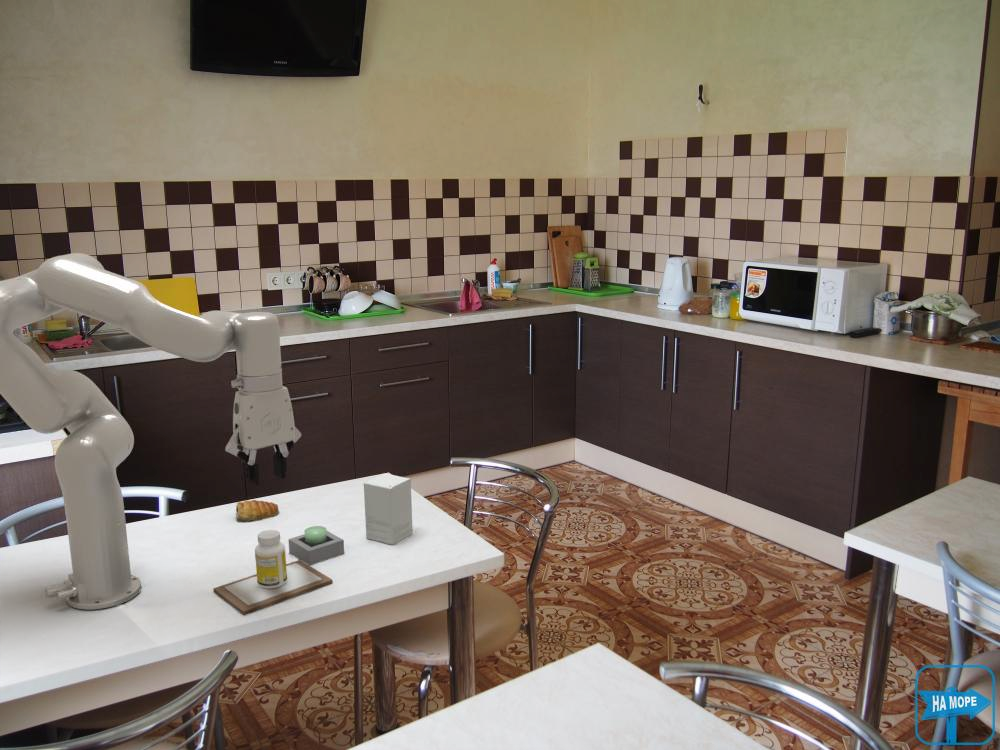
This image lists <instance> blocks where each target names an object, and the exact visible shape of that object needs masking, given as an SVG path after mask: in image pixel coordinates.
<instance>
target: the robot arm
mask: <svg viewBox="0 0 1000 750" xmlns="http://www.w3.org/2000/svg"><path fill="white" fill-rule="evenodd" d="M67 310H68V311H70V312H73V313H76V314H79V315H82V316H85V317H89V318H92V319H93V320H97V321H100V322H102V323H105V324H108V325H111V326H114V327H117V328H119V329H122V330H123V331H125V332H126V333H128V334H129V335H131V336H133V337H135V338H136V339H137V340H138V341H141V342H143V343H144V344H146V345H148V346H149V347H152V348H155V349H158V350H159V351H162V352H165V353H168V354H171V355H174V356H177V357H180V358H182V359H186V360H190V361H192V362H197V363H199V362H200V363H209V362H212V361H215V360H217V359H218V358H220V357H221V356H223V354H226V353H228V352H230V351H235V356H236V369H237V374H236V379H234V380H231V382H230V384H231V388H232V389H237V390H238V391H235V395H234V401H233V402H234V403H233V411H232V412H233V413H232V414H233V415H232V432H233V433H232V435H231V437H230V438H229V440H228V442H227V444H226V446H225V449H224V450H225V452H227V453H229V454H231V455H233V456H235V457H236V458H238V459H239V460H241V462H243V463H244V473H245V475H244V476H245V479H246V481H247V483H248V484H250V485H253V486H255V487H257V486H259V485H260V474H259V473H260V472H259V465H258V464H257V463H256V456H257V452H258V451H257V450H260V449H265V448H269V447H273V448H274V452H275V453H274V454H273V455H272V463H273V464H272V466H273V475H274V476H275V477H278V478H280V479H282V480H285V479H286V477H287V475H286V473H287V470H288V469H287V457H288V456H289V452H290V451H291V449H292V448H293V447H294V445H295V443H296V442H298V440H299V439H300V438H301V437H302V433H301V431H300V430H299V429H298V428H297V427H296V426H295V425H296V424H295V418H294V411H293V405H292V404H293V403H292V402H291V401H292V399H291V397H290V392H289V390H288V387H286V386H284V385H283V368H282V354H281V353H282V352H281V337H280V336H281V335H280V323H279V317H278V316H277V315H276V314H275V313H272V312H268V311H250V312H244V313H243V312H235V311H225V310H209V311H207V312H204V313H202V314H200V315H198V316H196V315H193V314H192V313H188V312H184V311H182V310H179V309H177V308H174V307H171V306H170V305H167V304H165V303H163V302H161V301H159V300H158V299H156V298H155V297H154V296H153V295H152V294H151V293H150V292H149V290H148V288H147V287H146V286H145V284H144V283H142V282H140V281H138V280H135V279H132V278H129V277H126V276H123V275H120V274H118V273H115V272H111V271H109V270H107V269H105V268H104V266H103V265H102V263H101V262H100V261H98V259H96V258H94V256H91V255H88V254H86V253H80V252H79V253H78V252H75V253H73V252H72V253H67V254H63V255H62V254H61V255H57V256H53V257H51V258H49V259H46V260H45V261H43V262H42V263H41V264H40V266H39V267H38V268H37V269H34V270H31V271H29V272H27V273H24V274H21V275H18V276H16V277H13V278H7V279H3V280H0V395H1V396H2V397H3V399H4V400H5V401H6V402H7V403H8V405H9V406H10V407H11V408H12V409H13V410H14V412H15V413H17V414H18V416H19V417H20V418H21V420H22V421H23V422H25V424H26V425H27V426H28V427H29V428H30V429H32V430H34V431H35V432H37V433H39V434H42V435H43V434H45V435H48V434H54V433H57V432H59V431H62V430H63V429H65V428H66V429H67V431H68V432H69V434H68V435H66V437H65V438H64V439H63V440H62V441H61V442H60V444H59V446H58V447H57V450H56V452H55V455H54V469H55V473H56V476H57V480H58V483H59V486H60V489H61V492H62V493H61V494H62V499H63V505H64V513H65V520H66V527H67V528H66V529H67V535H68V542H69V543H68V545H69V552H70V559H71V568H72V573H69V574H68V575H67V577H68V579H67V580H63V582H62V583H59V584H55V585H52V586H47V587H45V588H44V594H45V597H46V599H48V600H49V599H51V598H54V597H57V600H58V601H60V600H64V599H65V600H66V604H68V605H69V606H70V607H73V609H78V610H87V611H88V610H89V611H90V610H101V609H107V608H111V607H115V606H117V605H121V604H123V603H126V602H128V601H129V600H132V599H133V598H135V597H136V596H137V595H138V594H139V593H140V591H141V590H142V581H141V579H140V578H139V577H138V576H136V575H133V574H132V571H131V562H130V561H131V560H130V553H129V541H128V534H127V522H126V515H125V505H124V497H123V492H122V488H121V486H120V485H121V484H120V483H119V480H118V477H117V467H119V465H120V464H121V463H123V462H124V461H125V460H126V459H127V457H129V456H130V454H131V452H132V451H133V448H134V444H135V438H134V437H135V436H134V433H133V431H132V428H131V426H130V424H129V423H128V421H127V420H126V419H125V417H124V416H122V414H121V413H120V412H119V410H118V409H117V408H116V407H115V406H114V404H112V402H111V401H110V400H109V399H108V398H107V396H106V395H105V394H104V393H103V392H102V390H101V389H100V388H99V387H98V386H97V385H96V383H95V382H93V380H92V379H90V378H89V377H88V376H86V375H84V374H83V373H81V372H79V371H76V370H73V369H61V370H56V371H52V370H51V369H50V368H49V367H48V365H47V364H45V362H44V361H43V360H42V359H41V357H40V356H39V355H38V353H37V352H35V351H34V349H33V348H31V346H29V345H28V344H26V343H25V342H23V341H22V340H21V339H19V338H18V337H17V336H16V335H15V334H14V331H15V330H17V329H20V328H23V327H25V326H27V325H28V326H29V325H31V324H34V323H38V322H39V321H42V320H44V319H46V318H48V317H51V316H54V315H56V314H58V313H61V312H64V311H67ZM238 446H241V447H242V450H240V449H239V448H238Z"/></svg>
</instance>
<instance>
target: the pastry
mask: <svg viewBox="0 0 1000 750" xmlns="http://www.w3.org/2000/svg"><path fill="white" fill-rule="evenodd" d="M278 505H279V504H276V503H275V502H268V501H264V500H256V499H252V500H244V501H243V502H241V501H238V502H236V507H235V511H236V513H237V514H236V520H237V521H239V522H249V521H253V522H254V521H255V522H256V521H260V520H265V519H270V518H272V517H274V516H277V515H278V514H279V506H278Z"/></svg>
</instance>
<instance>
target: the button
mask: <svg viewBox="0 0 1000 750" xmlns="http://www.w3.org/2000/svg"><path fill="white" fill-rule="evenodd" d="M327 531H328V530H327V527H326V526H322V525H313V526H309V527H307V528H305V530H304V532H303V533H304V534H305V542H306V543H309V544H318V543H322V542H325V541H326V540H327Z"/></svg>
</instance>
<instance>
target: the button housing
mask: <svg viewBox="0 0 1000 750" xmlns="http://www.w3.org/2000/svg"><path fill="white" fill-rule="evenodd" d="M344 541H345V540H344V539H343V538H341V537H339V536H338V535H335V534H334V533H332V532H330V531H328V530H327V540H326V541H325V542H322V543H318V544H309V543H306V542H305V533H304V534H301V535H297V536H295V537H291V538H288V553H289V554H291V555H292V556H293V557H295V558H297V559H298V560H301V561H303V562H304V563H306V564H308V565H309V566H311V565H315V564H318V563H321V562H323V561H327V560H330V559H332V558H335V557H338V556H342V555H344V554H345V545H344V543H345V542H344Z"/></svg>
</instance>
